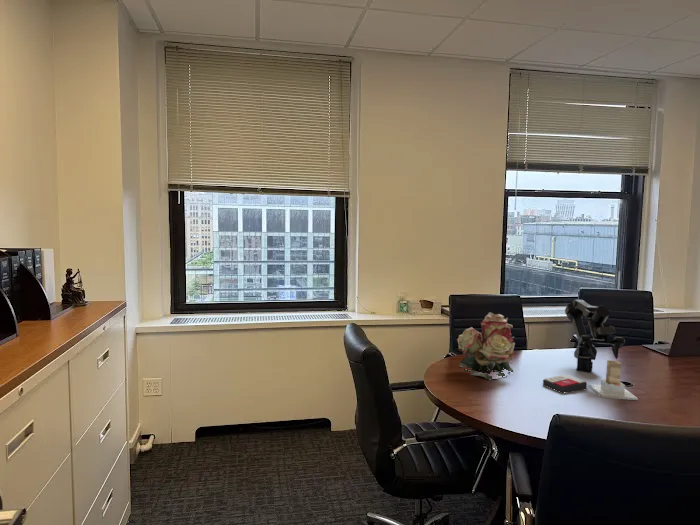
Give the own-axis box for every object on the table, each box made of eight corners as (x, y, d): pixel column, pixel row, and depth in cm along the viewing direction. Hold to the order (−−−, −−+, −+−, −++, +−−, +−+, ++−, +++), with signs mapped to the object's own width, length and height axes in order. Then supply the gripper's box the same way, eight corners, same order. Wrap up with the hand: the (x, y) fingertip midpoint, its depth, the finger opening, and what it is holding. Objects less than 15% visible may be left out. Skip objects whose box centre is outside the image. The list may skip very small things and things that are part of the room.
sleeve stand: (588, 386, 198) (589, 374, 198) (621, 388, 196) (622, 376, 196) (601, 397, 185) (602, 385, 184) (637, 400, 183) (638, 387, 182)
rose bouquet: (449, 366, 224) (451, 309, 222) (497, 362, 233) (499, 307, 231) (479, 383, 200) (481, 319, 198) (530, 377, 209) (533, 316, 207)
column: (605, 388, 193) (606, 360, 192) (615, 389, 192) (617, 360, 191) (609, 391, 189) (611, 362, 188) (619, 392, 188) (621, 363, 187)
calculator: (542, 378, 199) (566, 373, 205) (542, 387, 199) (566, 381, 205) (562, 386, 189) (587, 380, 194) (562, 395, 189) (587, 389, 195)
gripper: (581, 318, 203) (589, 347, 193) (624, 320, 200) (635, 350, 190) (574, 331, 211) (582, 360, 201) (615, 333, 209) (625, 362, 198)
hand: (606, 357), depth 197 cm, fingers open, 9 cm apart
